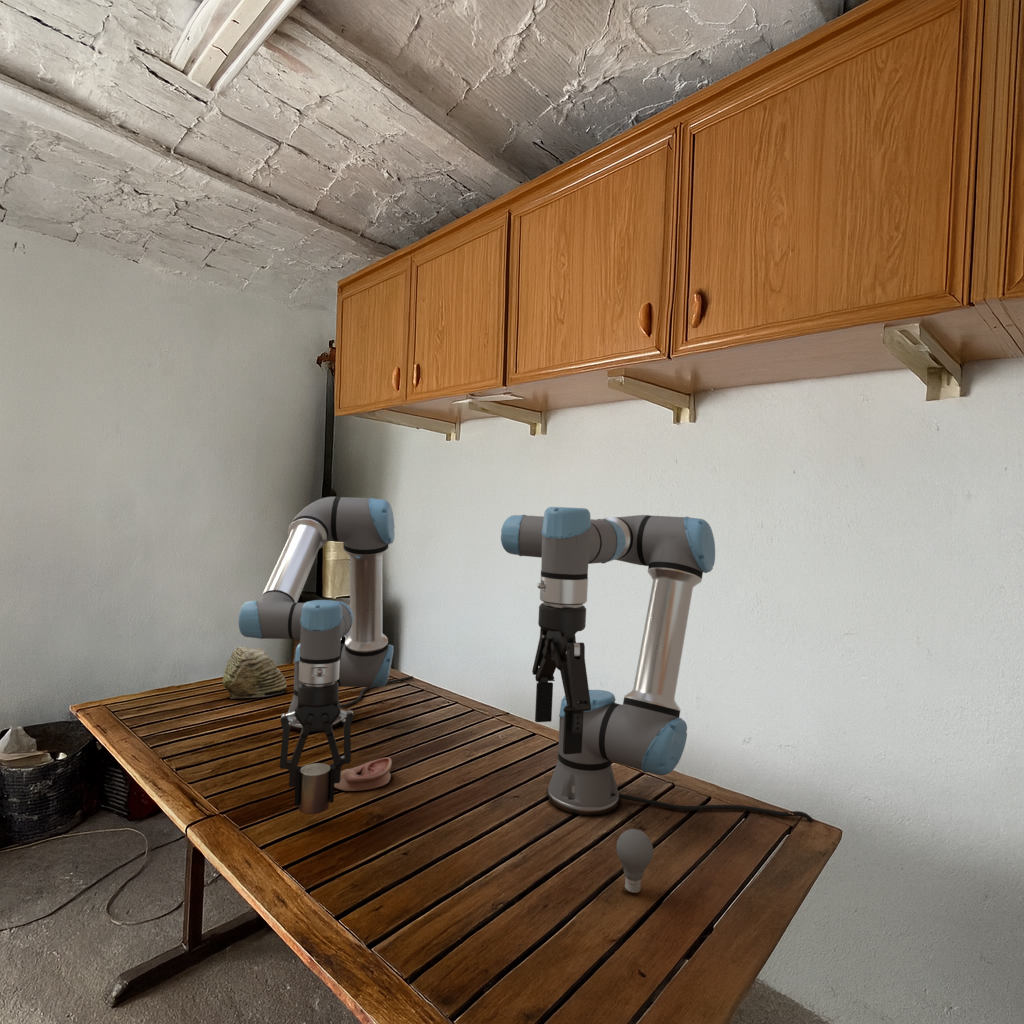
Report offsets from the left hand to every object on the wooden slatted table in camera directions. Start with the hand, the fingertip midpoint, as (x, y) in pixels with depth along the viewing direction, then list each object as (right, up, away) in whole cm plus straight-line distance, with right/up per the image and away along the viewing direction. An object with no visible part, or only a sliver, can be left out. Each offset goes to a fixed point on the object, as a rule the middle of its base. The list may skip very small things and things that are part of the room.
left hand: (314, 800), depth 122 cm
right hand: (+45, +20, -21) cm, 54 cm away
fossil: (-42, -1, +76) cm, 87 cm away
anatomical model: (+4, -4, +19) cm, 20 cm away
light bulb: (+58, -8, -17) cm, 61 cm away
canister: (0, -1, 0) cm, 1 cm away
